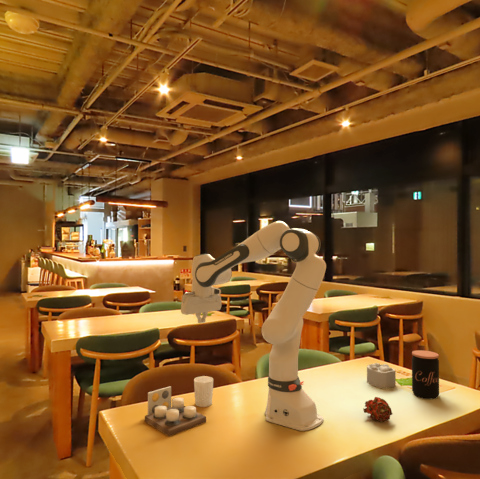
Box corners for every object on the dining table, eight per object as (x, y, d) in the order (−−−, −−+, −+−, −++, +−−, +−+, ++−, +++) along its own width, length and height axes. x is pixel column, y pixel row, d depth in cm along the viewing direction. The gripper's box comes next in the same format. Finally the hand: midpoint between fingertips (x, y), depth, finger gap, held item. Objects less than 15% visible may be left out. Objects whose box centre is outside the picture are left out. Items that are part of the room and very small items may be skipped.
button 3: (186, 406, 150) (186, 399, 150) (176, 409, 147) (176, 402, 147) (179, 403, 153) (179, 396, 153) (169, 406, 150) (169, 399, 150)
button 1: (198, 415, 144) (198, 408, 145) (188, 418, 141) (188, 411, 142) (191, 411, 148) (191, 405, 148) (181, 415, 145) (181, 408, 145)
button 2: (181, 418, 139) (181, 411, 139) (170, 422, 136) (170, 415, 136) (174, 414, 142) (174, 407, 142) (163, 418, 139) (163, 411, 139)
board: (206, 422, 144) (206, 416, 144) (169, 436, 133) (169, 429, 133) (180, 409, 156) (180, 403, 156) (144, 421, 145) (144, 415, 145)
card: (171, 409, 155) (171, 386, 155) (149, 417, 148) (149, 393, 148) (170, 409, 156) (170, 386, 156) (147, 416, 149) (147, 392, 149)
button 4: (169, 415, 145) (169, 408, 145) (158, 418, 142) (158, 411, 142) (162, 411, 148) (162, 404, 148) (152, 414, 145) (152, 407, 145)
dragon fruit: (389, 431, 141) (366, 422, 152) (402, 413, 144) (379, 406, 155) (376, 413, 140) (354, 406, 151) (389, 395, 143) (367, 389, 154)
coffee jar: (412, 397, 169) (412, 355, 169) (411, 389, 178) (411, 349, 179) (440, 401, 165) (439, 357, 165) (438, 392, 174) (437, 351, 175)
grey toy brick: (383, 389, 178) (382, 370, 179) (361, 381, 190) (361, 362, 190) (398, 385, 183) (398, 366, 184) (376, 377, 195) (376, 360, 195)
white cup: (210, 408, 157) (210, 383, 157) (191, 406, 158) (191, 381, 159) (215, 401, 164) (215, 376, 165) (197, 399, 166) (197, 375, 166)
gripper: (186, 293, 164) (186, 326, 163) (223, 289, 178) (223, 320, 177) (177, 292, 168) (177, 324, 168) (214, 288, 182) (214, 318, 182)
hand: (201, 322), depth 173 cm, fingers closed
